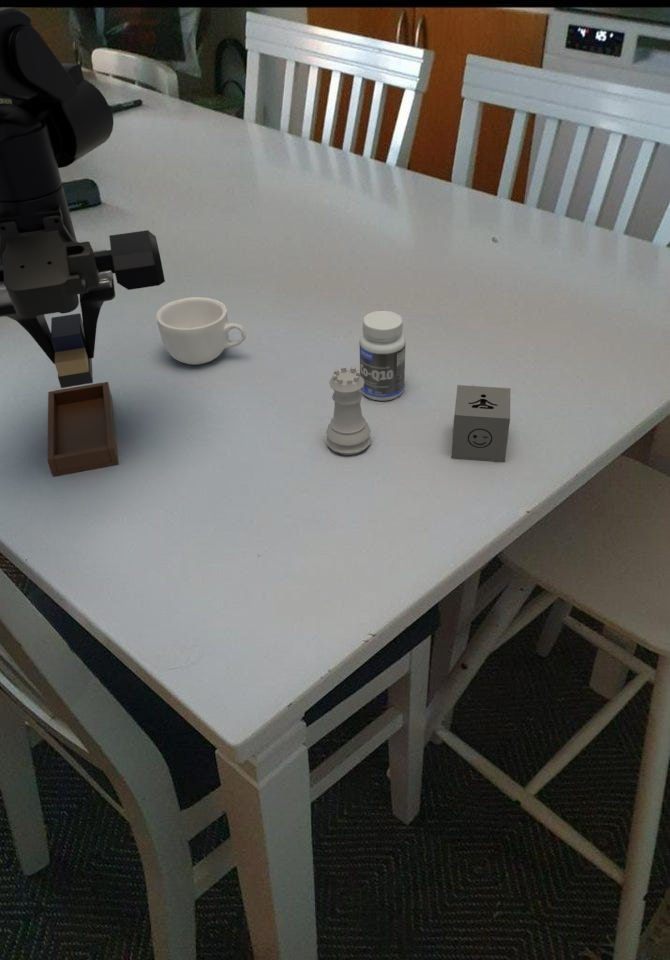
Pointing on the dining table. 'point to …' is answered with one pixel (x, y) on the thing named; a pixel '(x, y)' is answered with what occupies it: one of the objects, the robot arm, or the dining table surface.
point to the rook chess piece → (347, 414)
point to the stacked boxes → (70, 351)
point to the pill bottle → (382, 356)
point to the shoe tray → (81, 429)
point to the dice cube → (481, 423)
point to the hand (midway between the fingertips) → (73, 359)
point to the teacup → (196, 329)
